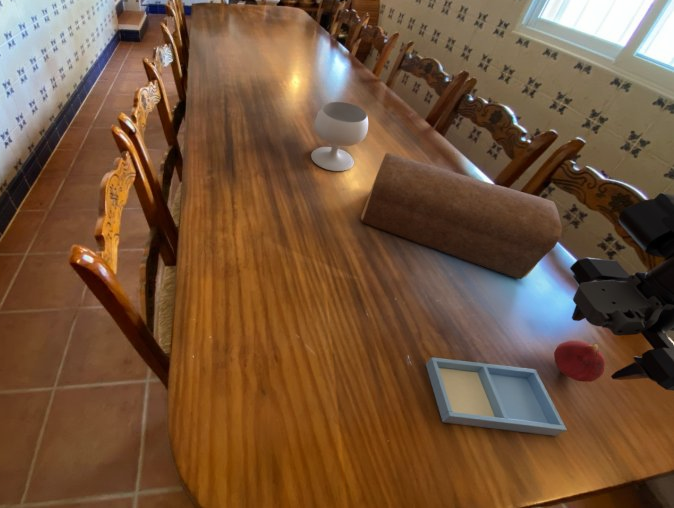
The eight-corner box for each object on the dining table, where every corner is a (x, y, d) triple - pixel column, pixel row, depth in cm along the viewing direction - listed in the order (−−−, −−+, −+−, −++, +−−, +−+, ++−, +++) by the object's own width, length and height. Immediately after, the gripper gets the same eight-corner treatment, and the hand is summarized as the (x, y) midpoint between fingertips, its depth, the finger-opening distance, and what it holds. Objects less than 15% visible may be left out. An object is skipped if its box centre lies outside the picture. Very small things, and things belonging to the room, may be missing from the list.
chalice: (336, 180, 95) (351, 130, 85) (297, 156, 102) (306, 108, 93) (366, 162, 102) (382, 114, 93) (327, 141, 110) (339, 95, 100)
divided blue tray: (556, 436, 51) (567, 430, 49) (442, 422, 51) (450, 415, 50) (526, 376, 57) (535, 369, 56) (425, 364, 58) (431, 357, 56)
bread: (370, 191, 92) (388, 143, 83) (518, 240, 82) (557, 192, 73) (358, 223, 82) (376, 173, 73) (523, 284, 72) (569, 235, 63)
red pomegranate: (593, 390, 56) (631, 367, 51) (558, 389, 56) (592, 365, 51) (568, 354, 61) (601, 330, 56) (535, 353, 61) (566, 328, 56)
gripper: (569, 225, 51) (510, 289, 61) (677, 350, 37) (577, 407, 47) (648, 233, 51) (576, 297, 61) (787, 363, 37) (663, 418, 47)
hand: (593, 347), depth 54 cm, fingers open, 9 cm apart
